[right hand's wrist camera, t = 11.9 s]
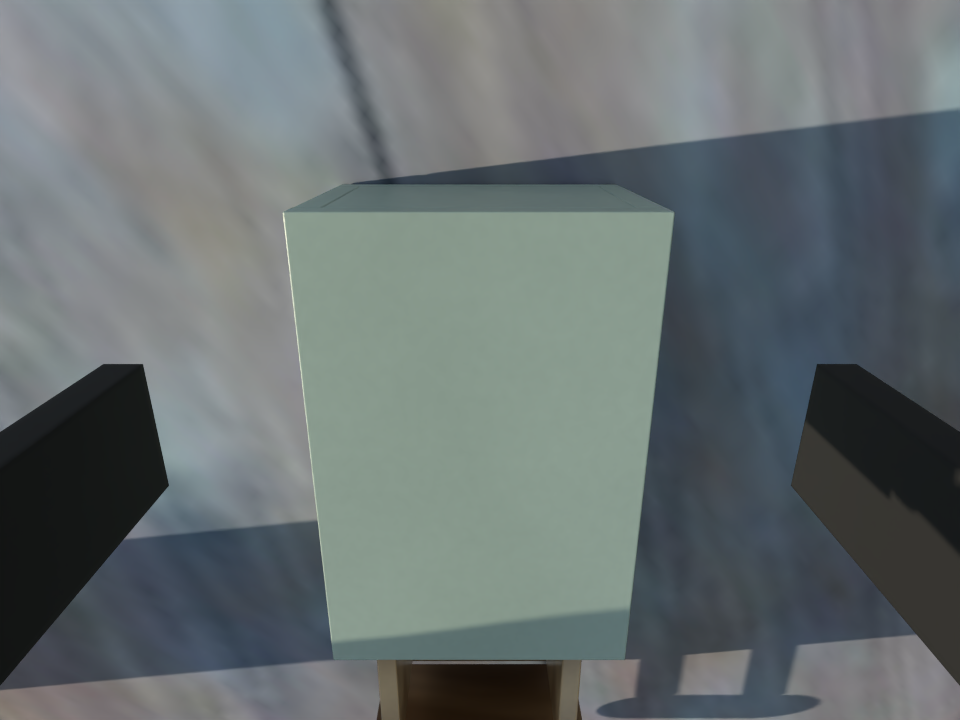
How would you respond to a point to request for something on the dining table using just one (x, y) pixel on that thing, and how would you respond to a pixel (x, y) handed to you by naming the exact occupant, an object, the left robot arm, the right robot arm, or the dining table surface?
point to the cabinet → (479, 412)
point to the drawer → (479, 690)
